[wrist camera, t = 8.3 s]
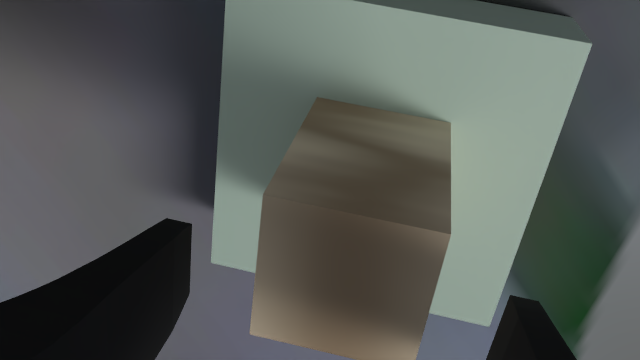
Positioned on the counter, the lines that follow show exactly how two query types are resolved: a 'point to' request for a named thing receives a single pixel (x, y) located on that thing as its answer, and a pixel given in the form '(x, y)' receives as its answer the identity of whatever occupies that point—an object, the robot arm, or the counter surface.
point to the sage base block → (402, 97)
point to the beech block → (354, 233)
